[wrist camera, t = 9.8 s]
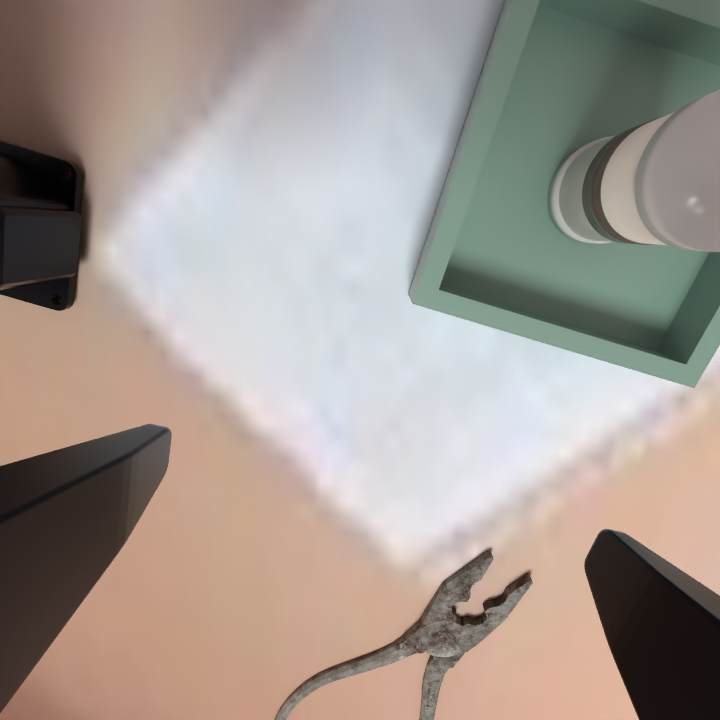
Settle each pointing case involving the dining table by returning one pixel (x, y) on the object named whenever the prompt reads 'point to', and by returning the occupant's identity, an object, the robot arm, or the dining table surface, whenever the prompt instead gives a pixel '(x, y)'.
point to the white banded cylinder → (646, 183)
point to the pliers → (431, 637)
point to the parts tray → (536, 168)
